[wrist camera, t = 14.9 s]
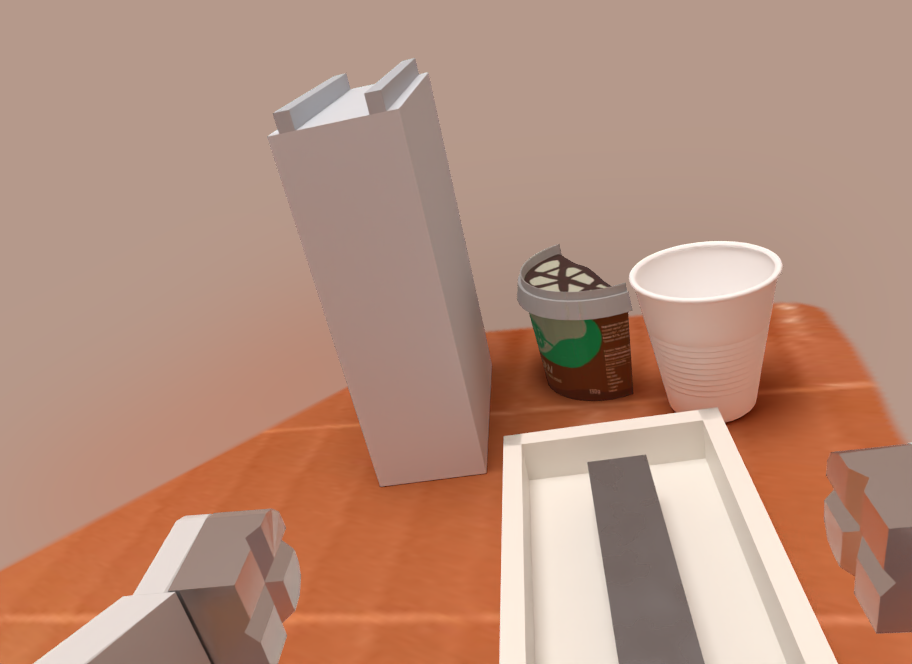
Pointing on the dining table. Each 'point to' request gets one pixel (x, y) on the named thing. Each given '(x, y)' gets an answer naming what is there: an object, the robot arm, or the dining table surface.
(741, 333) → the cup
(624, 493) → the dark gray bar
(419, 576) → the dining table surface
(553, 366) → the food container
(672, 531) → the tray
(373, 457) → the channel block
